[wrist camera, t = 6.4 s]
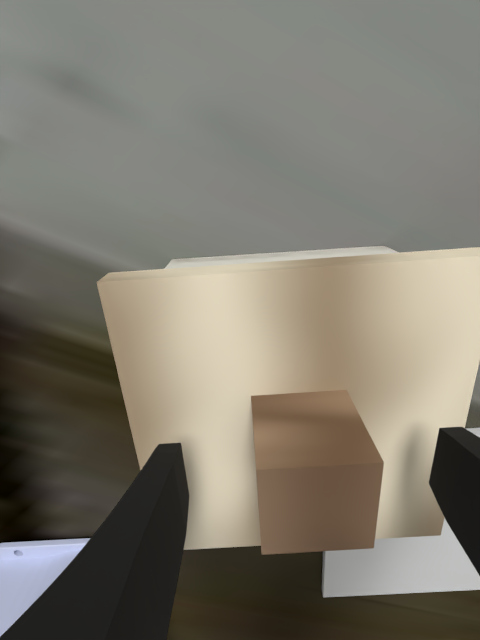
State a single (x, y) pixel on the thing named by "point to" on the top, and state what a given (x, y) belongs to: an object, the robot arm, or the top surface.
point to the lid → (300, 390)
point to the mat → (401, 566)
